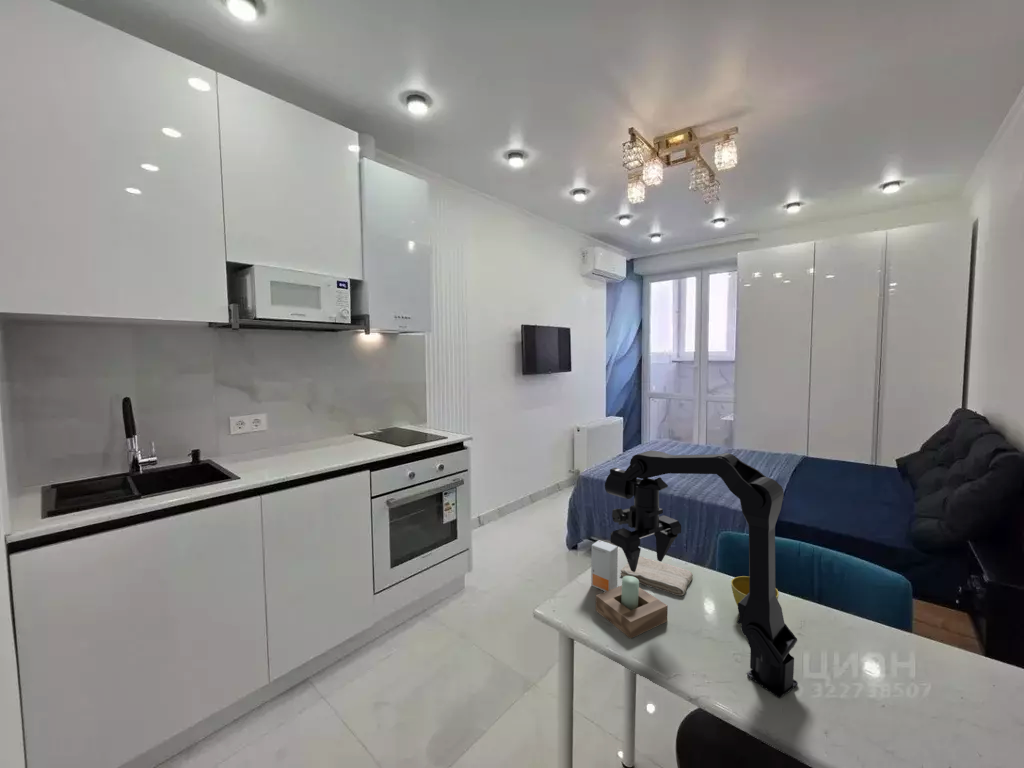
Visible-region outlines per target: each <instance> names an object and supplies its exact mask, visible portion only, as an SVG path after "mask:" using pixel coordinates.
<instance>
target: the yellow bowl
mask: <svg viewBox="0 0 1024 768" xmlns="http://www.w3.org/2000/svg"><path fill="white" fill-rule="evenodd" d="M730 582H731V583H730V584H731V585H730V586H731V590H732V594H733V595H732V596H733V598H734V601H735V603H736V605H737V606H736V607H738V603H739V602H740V601H741V600H742V599H743V598H744V597H745V596H746V595H747V594H748V593H749V575H748V576H746V575H742V576H736V577H734V578H732V579H731V581H730ZM775 594H776V598H777V600H778V601H779V595H780V593H779V590H778V588H776V587H775Z"/></svg>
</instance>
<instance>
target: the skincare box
mask: <svg viewBox="0 0 1024 768" xmlns="http://www.w3.org/2000/svg"><path fill="white" fill-rule="evenodd" d="M618 549H619V547H618V546H617V545H615V544H613V543H611V542H610V543H609V542H608V541H607V542H606V541H603V540H600V539H599V540H597V541H595V542H594V543H592V544H591V555H590V556H591V560H590V561H591V562H590V563H591V564H590V565H591V566H590V567H591V571H590V572H591V575H590V577H591V579H590V581H591V583H590V585H591V586H592V587H594V588H597V589H600V590H601V591H604V592H606V591H609V590H611V589H614V588H616V587H618V555H619V554H618V553H619V551H618Z"/></svg>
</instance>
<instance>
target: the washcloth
mask: <svg viewBox="0 0 1024 768" xmlns="http://www.w3.org/2000/svg"><path fill="white" fill-rule="evenodd" d="M620 571H621V572H620V576H622V578H623V577H624V576H633V577H636V578H637V579H638V580H639V584H641V585H644V586H647V585H648V587H649V588H654V589H657V590H660V591H664V592H666V593H669V594H672V595H676V596H683V595H685V593H686V591H687V587H688V586H689V585H690V583H691V581H692V580H693V576H694V574H693V573H692V572H691V570H687V569H686V568H681V567H679V566H674V565H672V564H668V563H665V562H662V561H661V562H660V561H658V560H653V559H651V558H647V557H644V556H641V555H639V559H638V564H637V568H636V571H635V572H633V571H631V569H630V567H629V564H628V562H627V563H626V564H625V565H624V566H623V567H622V568H621V569H620Z"/></svg>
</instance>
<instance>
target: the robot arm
mask: <svg viewBox="0 0 1024 768" xmlns="http://www.w3.org/2000/svg"><path fill="white" fill-rule="evenodd" d="M669 474H678V475H679V474H681V475H682V474H683V475H689V474H690V475H692V474H693V475H695V474H696V475H717V476H718V477H719V478H720V479H721V480H722V481H723V483H724V484H725V485H726V487H727V489H728V490H729V491H730V492H731V493H732V494H733V495H734V496H736V497H737V498H738V499H739V502H740V507H741V512H742V515H743V517H744V519H745V521H746V523H747V526H748V563H749V564H748V577H749V593H748V594H747V595H746V596H745V597H744V598H743V599H742V600H741V601H740V602H739V603H738V606H737V609H738V610H737V611H738V615H739V616H738V619H737V622H736V623H737V624H738V625H739V624H740V630H741V632H742V635H743V636H745V637H746V639H747V642H748V645H749V648H750V653H749V654H750V659H749V662H750V663H749V667H750V669H751V670H749V671H747V673H746V675H747V677H748V678H749V679H751V680H752V681H754V682H755V683H757V685H760V687H762V688H763V689H765V690H767V691H768V692H770V693H772V695H774V696H775V697H777V698H779V699H780V698H783V697H784V696H785V695H787V694H788V693H789V692H790V691H792V690H793V689H794V688H796V687H797V686H798V684H799V683H798V681H797V680H795V679H794V675H795V674H794V673H795V657H794V656H792V655H791V654H790V652H791V651H792V649H793V648H794V647H795V645H796V644H797V642H798V638H797V637H796V635H794V633H793V632H792V630H791V629H790V628H789V627H788V625H787V624H786V623H785V620H784V619H785V618H784V614H783V613H784V612H783V609H782V605H781V603H780V602H779V599H778V600H777V598H776V594H775V588H776V526H777V525H776V524H777V521H778V518H779V516H780V513H781V510H782V505H783V501H784V496H785V494H784V489H783V486H782V485H780V484H779V483H778V482H777V481H776V480H775V479H773V478H771V477H768V476H765V474H763V473H762V472H761V471H759V470H758V469H756V468H754V467H752V466H750V465H749V464H747V463H745V462H743V461H742V460H740V459H739V458H738V457H736V455H734V454H732V453H729V452H725V453H720V454H719V453H716V454H676V455H675V454H669V453H666V452H663V451H659V450H653V449H652V450H647V451H644V452H641V453H637V454H634V455H633V456H632V457H631V458H630V462H629V466H628V467H627V468H626V470H625V469H624V470H623V469H621V468H619V467H618V468H617V467H612V468H611V469H609V474H608V475H607V476H606V480H605V483H604V489H605V492H606V493H608V494H609V495H613V496H616V497H619V498H623V499H626V500H631V499H632V498H634V499H633V501H634V502H633V504H634V505H631V506H629V508H625V509H622V508H614V509H612V513H611V517H612V521H613V522H614V523H615V524H616V523H617V524H618V525H619V526H621V525H627V526H628V527H629V528H630V529H631V528H632V529H634V530H633V531H631V530H629V529H626V528H625V527H622V528H619V529H615V530H612V532H611V533H610V544H612V545H615V546H618V548H621V550H622V551H623V553H624V556H625V558H626V561H627V563H628V564H629V567H630V569H631V571H633V572H635V571H636V568H637V564H638V559H639V556H641V555H640V553H641V551H642V548H641V547H640V545H641V539H643V538H646V537H651V536H652V535H654V537H655V549H656V561H658V562H661V563H662V562H663V560H664V559H665V556H666V554H667V553H668V551H669V549H670V547H671V546H672V544H673V543H674V541H675V540H676V538H678V537H679V534H682V524H681V523H680V521H679V520H677V519H674V518H672V517H670V516H667V515H664V514H663V513H664V509H663V508H660V492H661V491H662V490H665V489H666V488H668V487H669V485H668V483H666V482H665V480H663V479H662V478H661V477H660V476H663V475H669ZM658 476H659V477H658ZM655 477H657V478H655ZM653 478H655V479H653Z"/></svg>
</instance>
